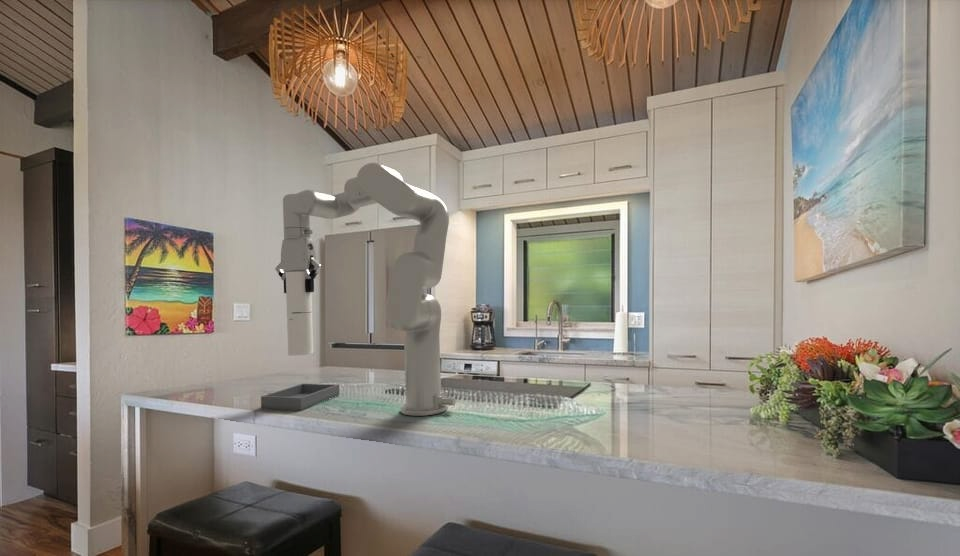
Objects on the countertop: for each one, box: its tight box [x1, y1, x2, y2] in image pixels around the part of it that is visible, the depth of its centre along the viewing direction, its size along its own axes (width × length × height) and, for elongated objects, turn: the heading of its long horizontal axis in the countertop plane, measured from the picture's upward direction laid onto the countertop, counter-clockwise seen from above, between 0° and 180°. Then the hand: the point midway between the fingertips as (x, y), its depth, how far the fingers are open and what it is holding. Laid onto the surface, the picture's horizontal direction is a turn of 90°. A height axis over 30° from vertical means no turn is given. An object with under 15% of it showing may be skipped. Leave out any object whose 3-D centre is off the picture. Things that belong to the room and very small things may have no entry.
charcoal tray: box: [260, 383, 340, 412], centre depth 139 cm, size 14×18×4 cm
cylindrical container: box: [285, 271, 314, 356], centre depth 140 cm, size 7×7×25 cm
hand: (299, 292), depth 140 cm, fingers closed on cylindrical container, 7 cm apart
